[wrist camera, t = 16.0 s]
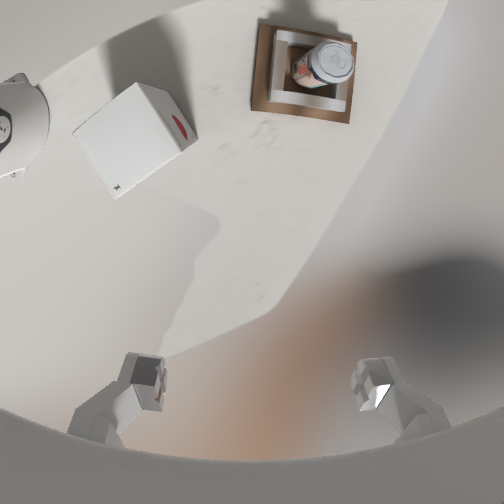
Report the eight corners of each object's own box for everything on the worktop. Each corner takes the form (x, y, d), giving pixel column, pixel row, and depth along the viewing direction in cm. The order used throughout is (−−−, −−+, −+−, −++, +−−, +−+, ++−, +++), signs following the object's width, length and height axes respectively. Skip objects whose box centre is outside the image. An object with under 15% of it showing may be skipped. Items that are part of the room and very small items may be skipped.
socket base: (250, 110, 39) (253, 110, 35) (259, 27, 33) (262, 18, 29) (345, 123, 40) (357, 125, 36) (353, 44, 34) (365, 38, 30)
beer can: (303, 51, 34) (330, 31, 23) (330, 71, 35) (366, 60, 24) (283, 75, 35) (304, 61, 25) (311, 95, 37) (341, 91, 26)
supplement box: (200, 140, 40) (185, 154, 27) (149, 173, 42) (114, 203, 28) (168, 88, 36) (137, 78, 23) (118, 124, 38) (69, 133, 24)
